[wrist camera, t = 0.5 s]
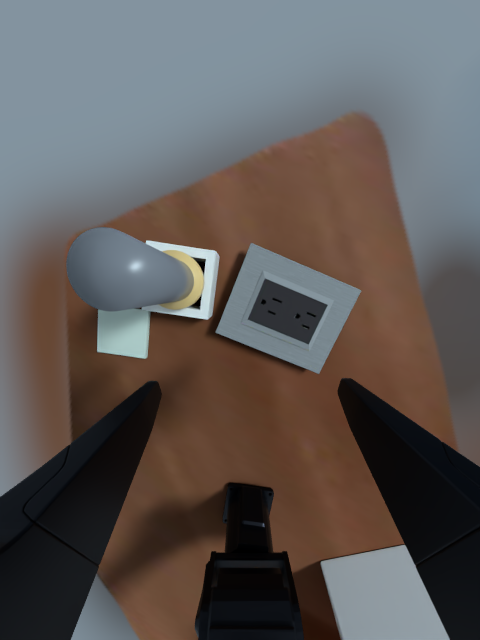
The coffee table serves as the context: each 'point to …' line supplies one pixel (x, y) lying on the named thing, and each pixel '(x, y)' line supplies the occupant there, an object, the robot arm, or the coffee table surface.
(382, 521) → the coffee table surface
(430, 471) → the robot arm
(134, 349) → the rubber pad
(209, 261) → the frame
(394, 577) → the gable box
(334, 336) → the electrical outlet
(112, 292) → the grey tapered rounded cylinder
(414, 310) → the coffee table surface
